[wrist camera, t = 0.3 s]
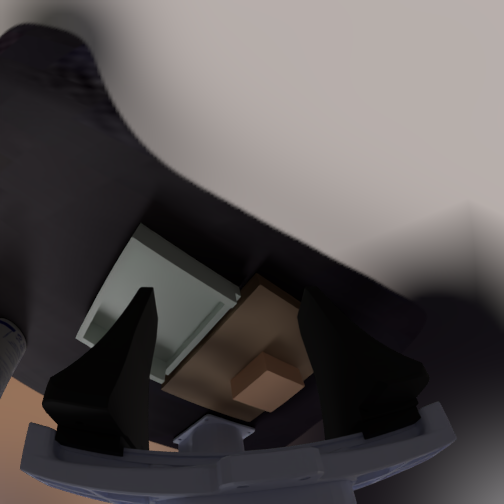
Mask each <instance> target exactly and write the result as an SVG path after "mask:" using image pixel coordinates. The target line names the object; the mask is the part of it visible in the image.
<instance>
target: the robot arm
mask: <svg viewBox="0 0 504 504" xmlns="http://www.w3.org/2000/svg"><path fill="white" fill-rule="evenodd" d="M297 320H298V325H299V330H300V334H301V337H302V340H303V343H304V346H305V349H306V352H307V355H308V358H309V360H310V363H311V366H312V369H313V372H314V376H315V379H316V384H317V389H318V393H319V399H320V404H321V410H322V417H323V423H324V433H325V441H320V442H314V443H308V444H302V445H296V446H289V447H281V448H273V449H264V450H253V451H244V444H243V439H244V438H246V437H247V436H249V435H250V434H252V433H253V432H254V431H255V429H254V428H252V427H249V426H245V425H242V424H239V423H236V422H232V421H229V420H226V419H223V418H220V417H217V416H214V415H211V414H206V415H205V416H204V417H202V418H201V419H200V420H198V421H197V422H196V423H195V424H193V425H192V426H191V427H189V428H188V429H187V430H185V431H184V432H183V433H181V434H180V435H178V436H177V437H176V438H174V439H173V442H174V443H177V444H179V452H163V451H149V437H148V393H149V379H150V372H151V366H152V361H153V355H154V350H155V344H156V339H157V328H158V314H157V308H156V301H155V295H154V288H153V287H140V288H139V289H138V291H137V293H136V294H135V296H134V297H133V299H132V300H131V302H130V303H129V305H128V306H127V307H126V309H125V310H124V311H123V313H122V314H121V316H120V317H119V318H118V319H117V321H116V322H115V323H114V324H113V326H112V327H111V328H110V329H109V330H108V332H107V333H106V334H105V335H104V336H103V337H102V338H101V339H100V340H99V341H98V342H97V343H96V344H95V345H94V346H93V347H92V348H91V349H90V350H89V351H88V352H87V353H85V354H84V355H83V356H82V357H81V358H79V359H78V360H77V361H75V362H74V363H73V364H71V365H70V366H68V367H67V368H65V369H64V370H62V371H61V372H59V373H57V374H56V375H54V376H52V377H50V380H49V382H48V384H47V387H46V391H45V394H44V398H43V401H42V406H43V408H44V410H45V411H46V413H47V414H49V416H50V417H51V418H52V419H53V420H54V421H55V422H56V423H57V424H58V426H57V431H56V430H54V429H52V428H50V427H46V426H43V425H39V424H36V423H32V422H31V423H29V427H28V431H27V436H26V440H25V445H24V449H23V455H22V459H21V465H20V469H21V470H22V471H23V472H25V473H26V474H28V475H30V476H31V477H33V478H35V479H37V480H38V481H40V482H42V483H44V484H46V485H48V486H50V487H54V488H57V489H60V490H63V491H66V492H70V493H73V494H77V495H80V496H84V497H88V498H91V499H95V500H100V501H104V502H108V503H113V504H357V502H356V499H355V495H354V492H353V490H356V489H358V488H361V487H364V486H367V485H370V484H372V483H375V482H378V481H381V480H383V479H385V478H388V477H390V476H393V475H395V474H398V473H400V472H402V471H404V470H407V469H409V468H411V467H413V466H416V465H418V464H420V463H422V462H424V461H426V460H428V459H430V458H432V457H433V456H435V455H436V454H438V453H439V452H440V451H442V450H443V449H445V448H446V447H448V446H449V445H450V444H452V443H453V442H454V441H456V439H457V437H456V435H455V433H454V431H453V429H452V427H451V424H450V422H449V420H448V418H447V416H446V414H445V412H444V410H443V408H442V406H441V404H440V402H435V403H433V404H430V405H427V406H425V407H423V408H421V409H419V410H417V407H416V405H417V404H418V401H417V399H416V397H417V396H418V395H419V394H420V392H421V391H422V390H423V389H424V388H425V386H426V385H427V384H428V381H429V375H428V373H427V371H426V369H425V368H424V366H423V364H422V363H421V362H418V361H416V360H414V359H411V358H409V357H406V356H404V355H402V354H400V353H398V352H396V351H394V350H392V349H390V348H388V347H387V346H385V345H383V344H382V343H380V342H379V341H377V340H376V339H374V338H373V337H371V336H370V335H368V334H367V333H366V332H364V331H363V330H362V329H360V328H359V327H358V326H357V325H356V324H355V323H353V322H352V321H351V320H350V319H349V318H348V317H347V316H346V315H344V314H343V313H342V312H341V311H340V310H339V309H338V308H337V307H336V306H335V305H334V304H333V303H332V302H331V301H330V300H329V299H328V298H327V297H326V296H325V295H324V294H323V293H322V292H321V291H320V290H319V289H318V288H317V287H305V288H304V292H303V296H302V300H301V304H300V307H299V311H298V315H297Z"/></svg>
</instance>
